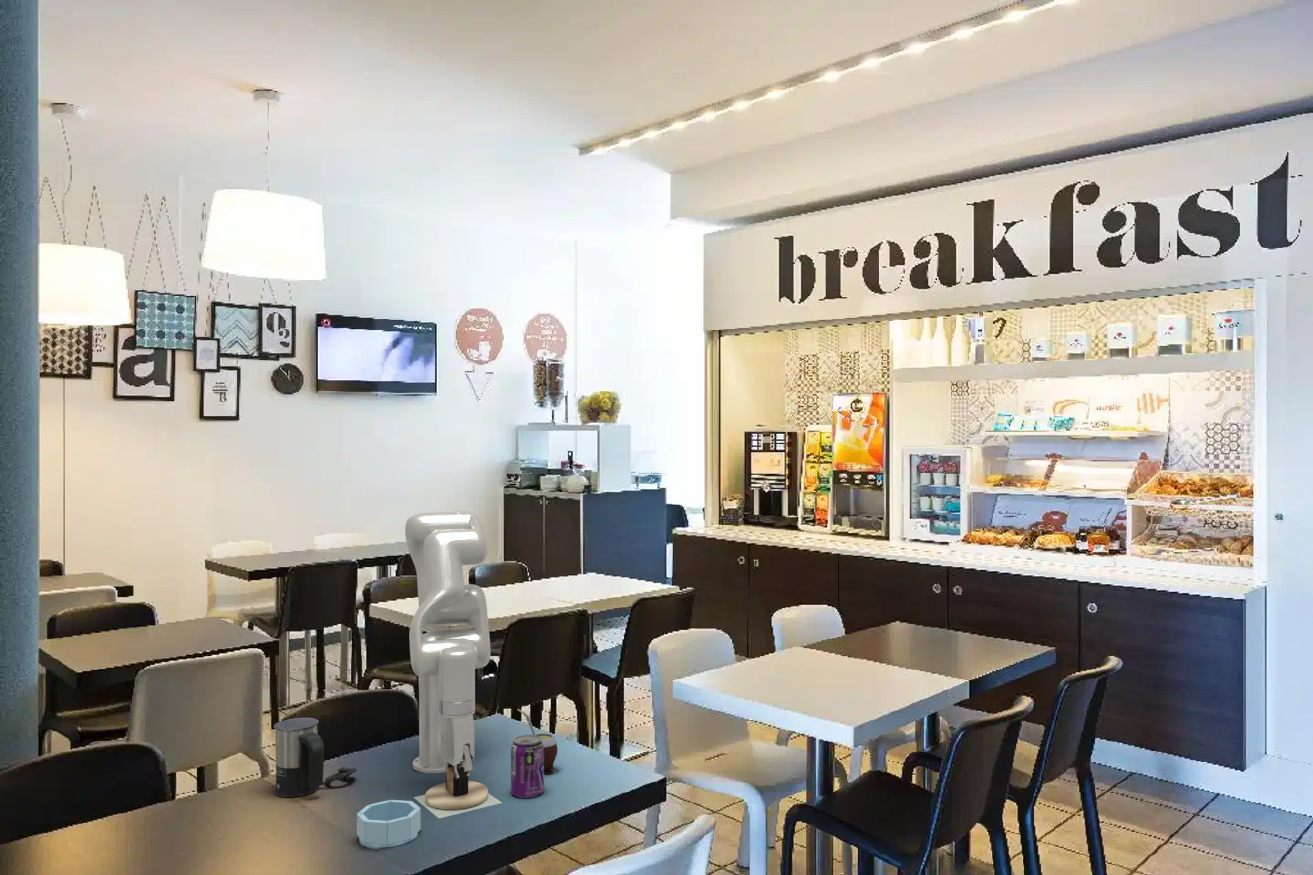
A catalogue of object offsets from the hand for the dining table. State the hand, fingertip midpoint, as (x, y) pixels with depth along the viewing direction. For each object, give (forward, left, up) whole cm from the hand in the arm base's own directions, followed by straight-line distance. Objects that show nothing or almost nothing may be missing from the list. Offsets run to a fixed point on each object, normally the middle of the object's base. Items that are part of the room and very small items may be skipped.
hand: (456, 791), depth 200 cm
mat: (+1, 0, -2) cm, 2 cm away
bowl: (+10, -18, -2) cm, 21 cm away
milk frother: (-26, -22, -2) cm, 34 cm away
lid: (0, 0, -1) cm, 1 cm away
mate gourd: (-5, +23, -2) cm, 24 cm away
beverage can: (+6, +14, -2) cm, 15 cm away
